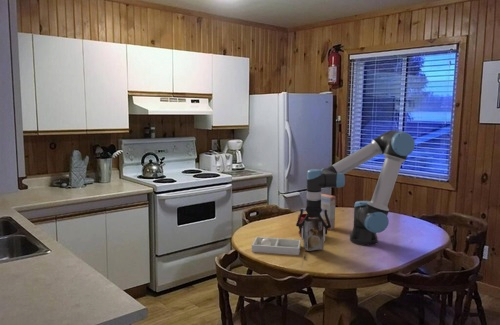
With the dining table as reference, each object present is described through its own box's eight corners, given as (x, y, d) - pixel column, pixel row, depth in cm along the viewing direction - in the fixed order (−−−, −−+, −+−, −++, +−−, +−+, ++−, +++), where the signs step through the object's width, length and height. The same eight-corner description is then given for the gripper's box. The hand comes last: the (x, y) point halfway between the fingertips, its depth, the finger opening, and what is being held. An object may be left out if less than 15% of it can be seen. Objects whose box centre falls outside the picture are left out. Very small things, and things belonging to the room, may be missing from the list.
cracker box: (334, 228, 260) (336, 195, 257) (329, 230, 256) (330, 197, 253) (316, 223, 270) (317, 192, 267) (311, 225, 266) (311, 193, 263)
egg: (271, 246, 224) (271, 237, 224) (269, 250, 219) (269, 240, 219) (261, 245, 225) (261, 236, 225) (260, 249, 220) (260, 239, 219)
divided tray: (300, 247, 226) (300, 239, 225) (298, 256, 213) (299, 248, 212) (256, 244, 230) (256, 236, 230) (251, 253, 217) (251, 245, 216)
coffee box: (318, 245, 226) (318, 216, 224) (323, 249, 220) (324, 219, 218) (302, 247, 224) (302, 217, 221) (307, 251, 218) (307, 221, 215)
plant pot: (319, 239, 239) (320, 219, 237) (296, 238, 242) (296, 218, 240) (320, 232, 252) (320, 213, 250) (298, 231, 254) (298, 212, 253)
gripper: (336, 198, 219) (335, 238, 223) (292, 196, 224) (291, 236, 227) (336, 201, 212) (335, 243, 215) (290, 199, 216) (290, 240, 220)
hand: (313, 239), depth 221 cm, fingers closed on coffee box, 11 cm apart
